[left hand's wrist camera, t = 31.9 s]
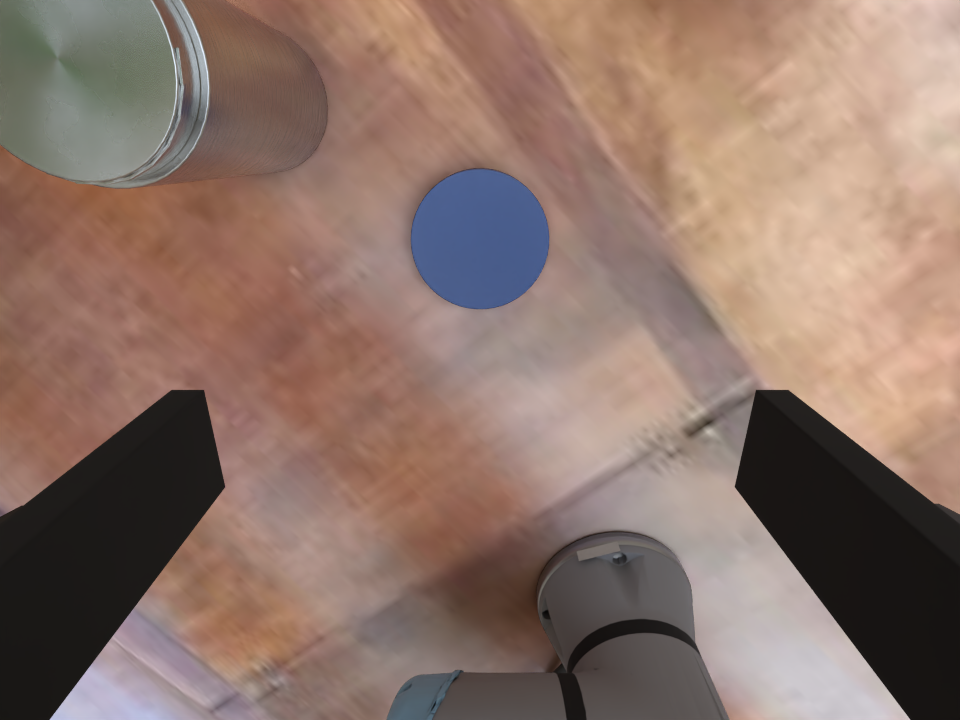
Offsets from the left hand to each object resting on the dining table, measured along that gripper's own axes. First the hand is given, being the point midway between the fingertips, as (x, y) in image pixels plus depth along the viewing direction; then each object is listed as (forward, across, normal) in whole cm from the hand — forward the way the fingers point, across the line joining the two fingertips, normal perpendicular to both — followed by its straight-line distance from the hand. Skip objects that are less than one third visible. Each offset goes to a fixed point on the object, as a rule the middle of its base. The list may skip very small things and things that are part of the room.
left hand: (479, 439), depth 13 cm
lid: (+28, 0, 0) cm, 28 cm away
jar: (+30, +15, -10) cm, 35 cm away
